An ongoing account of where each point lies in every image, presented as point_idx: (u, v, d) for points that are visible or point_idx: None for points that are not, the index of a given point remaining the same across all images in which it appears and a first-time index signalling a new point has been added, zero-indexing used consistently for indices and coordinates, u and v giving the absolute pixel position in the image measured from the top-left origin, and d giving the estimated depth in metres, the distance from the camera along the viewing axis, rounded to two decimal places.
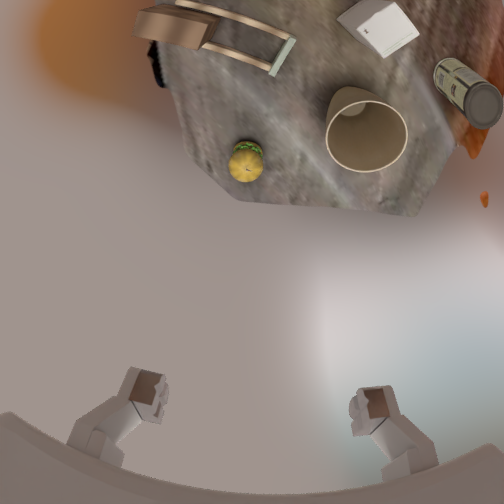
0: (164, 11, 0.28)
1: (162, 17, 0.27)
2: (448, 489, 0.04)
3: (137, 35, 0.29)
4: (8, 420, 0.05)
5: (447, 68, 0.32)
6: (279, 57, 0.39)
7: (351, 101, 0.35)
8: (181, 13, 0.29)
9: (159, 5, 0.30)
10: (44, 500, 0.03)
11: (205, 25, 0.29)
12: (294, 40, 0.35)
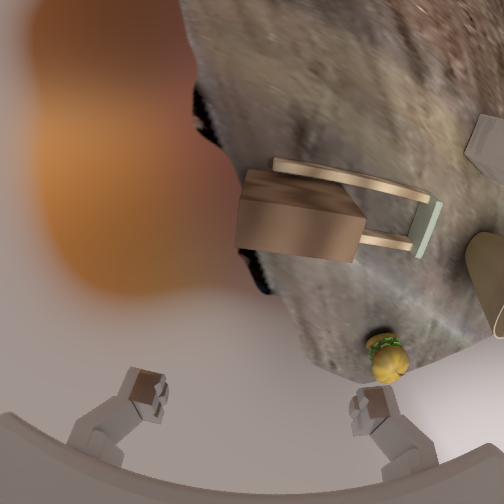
0: (278, 193, 0.26)
1: (289, 212, 0.24)
2: (448, 489, 0.04)
3: (244, 245, 0.26)
4: (8, 420, 0.05)
5: None
6: (426, 232, 0.31)
7: None
8: (303, 193, 0.27)
9: (248, 174, 0.31)
10: (44, 500, 0.03)
11: (363, 220, 0.24)
12: (441, 204, 0.29)
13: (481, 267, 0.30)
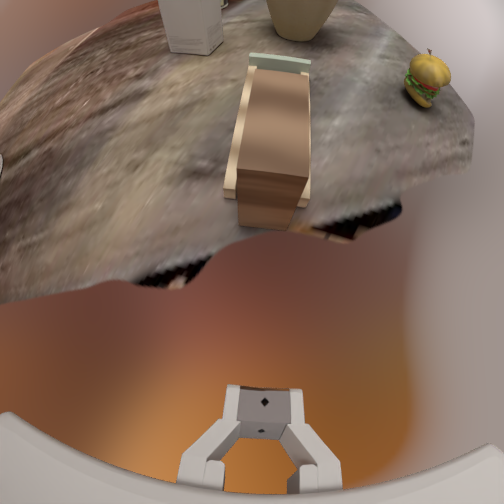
0: None
1: (252, 122, 0.19)
2: (448, 489, 0.04)
3: (304, 165, 0.18)
4: (8, 420, 0.05)
5: None
6: (282, 59, 0.31)
7: None
8: None
9: None
10: (44, 500, 0.03)
11: (257, 70, 0.21)
12: (251, 53, 0.31)
13: (299, 15, 0.31)
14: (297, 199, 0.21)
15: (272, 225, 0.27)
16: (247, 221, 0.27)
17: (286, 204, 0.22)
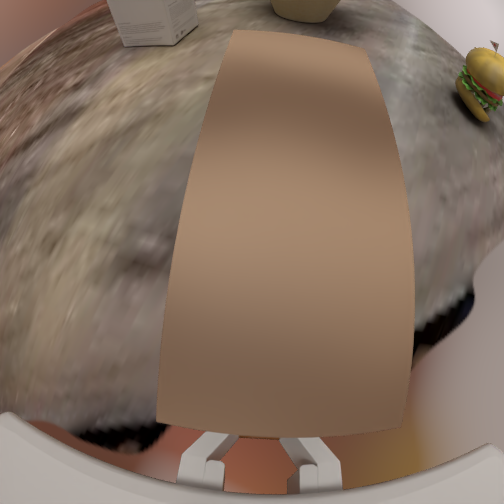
0: None
1: (212, 199, 0.05)
2: (448, 489, 0.04)
3: (395, 387, 0.04)
4: (8, 420, 0.05)
5: None
6: None
7: None
8: None
9: None
10: (44, 500, 0.03)
11: (239, 33, 0.07)
12: None
13: None
14: None
15: None
16: None
17: None
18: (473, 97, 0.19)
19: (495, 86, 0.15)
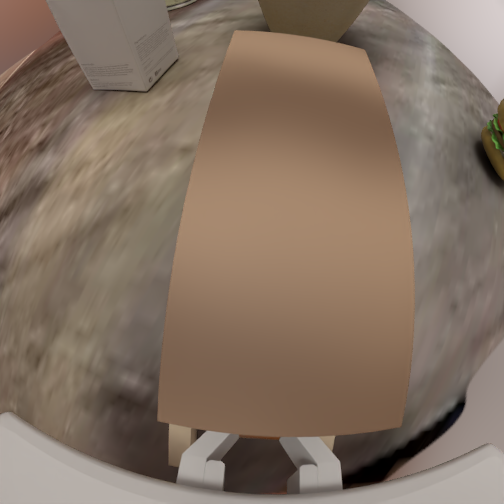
0: None
1: (213, 200, 0.05)
2: (448, 489, 0.04)
3: (395, 387, 0.04)
4: (8, 420, 0.05)
5: None
6: None
7: None
8: None
9: None
10: (44, 500, 0.03)
11: (240, 33, 0.07)
12: None
13: (314, 4, 0.15)
14: None
15: None
16: None
17: None
18: (501, 158, 0.16)
19: None
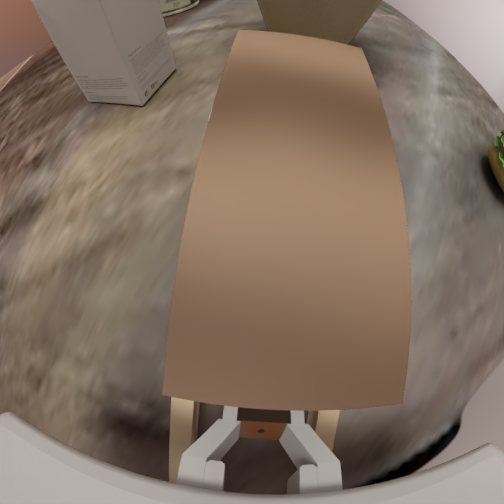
0: None
1: (220, 182, 0.06)
2: (448, 489, 0.04)
3: (394, 361, 0.05)
4: (8, 420, 0.05)
5: None
6: None
7: None
8: None
9: None
10: (44, 500, 0.03)
11: (243, 33, 0.08)
12: None
13: (318, 13, 0.15)
14: None
15: None
16: None
17: None
18: None
19: None
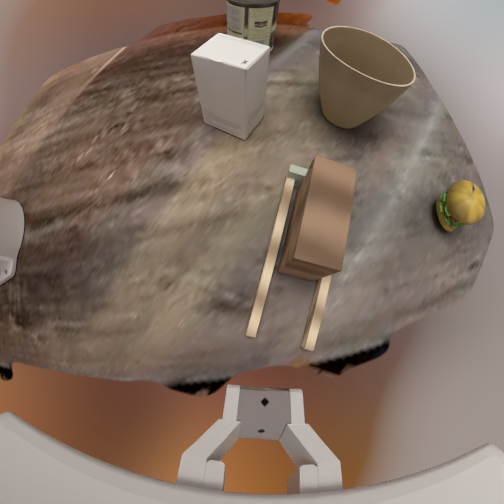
0: (295, 231, 0.29)
1: (309, 216, 0.27)
2: (448, 489, 0.04)
3: (339, 260, 0.26)
4: (8, 420, 0.05)
5: None
6: None
7: (342, 69, 0.27)
8: (298, 213, 0.31)
9: (280, 267, 0.34)
10: (44, 500, 0.03)
11: (317, 157, 0.28)
12: (292, 166, 0.35)
13: (351, 111, 0.35)
14: (328, 274, 0.29)
15: (303, 277, 0.35)
16: (285, 272, 0.35)
17: (318, 274, 0.31)
18: (443, 217, 0.36)
19: (459, 218, 0.32)
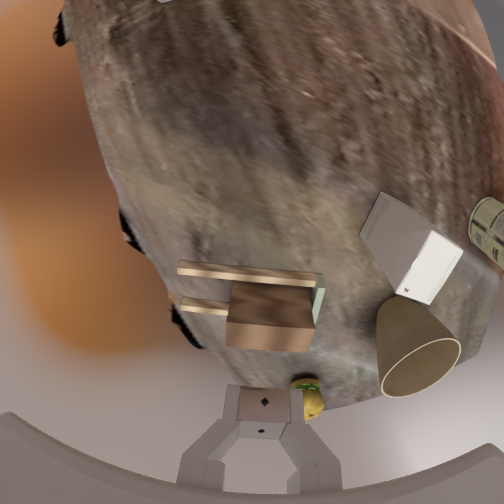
0: (253, 310, 0.38)
1: (259, 328, 0.35)
2: (448, 489, 0.04)
3: (232, 345, 0.37)
4: (8, 420, 0.05)
5: (482, 225, 0.33)
6: (313, 311, 0.42)
7: (400, 352, 0.32)
8: (272, 306, 0.39)
9: (234, 286, 0.42)
10: (44, 500, 0.03)
11: (312, 330, 0.35)
12: (323, 289, 0.40)
13: (378, 336, 0.40)
14: None
15: None
16: None
17: None
18: (298, 384, 0.54)
19: None
